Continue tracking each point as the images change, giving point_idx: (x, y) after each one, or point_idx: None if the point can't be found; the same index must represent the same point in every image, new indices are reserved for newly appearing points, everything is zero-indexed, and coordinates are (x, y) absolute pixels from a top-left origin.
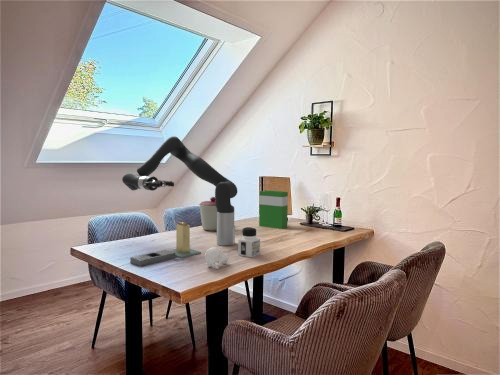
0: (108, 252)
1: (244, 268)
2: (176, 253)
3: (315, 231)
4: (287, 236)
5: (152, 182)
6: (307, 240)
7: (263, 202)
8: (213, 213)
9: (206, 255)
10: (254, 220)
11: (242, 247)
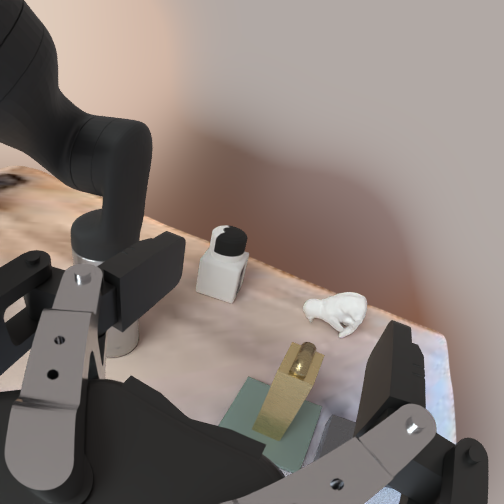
0: None
1: (314, 290)
2: (299, 431)
3: (11, 201)
4: (40, 231)
5: (434, 430)
6: (82, 214)
7: None
8: None
9: (364, 316)
10: None
11: (239, 280)
